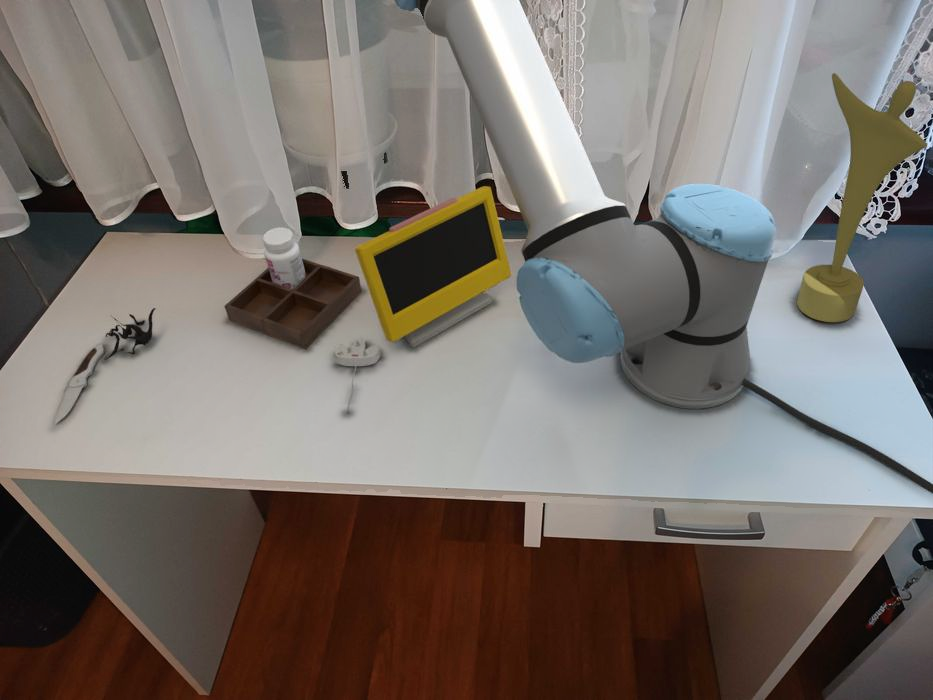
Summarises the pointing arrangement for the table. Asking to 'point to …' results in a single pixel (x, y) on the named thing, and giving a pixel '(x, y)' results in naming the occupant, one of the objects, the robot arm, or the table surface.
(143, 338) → the creature
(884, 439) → the table surface
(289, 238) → the pill bottle
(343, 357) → the game controller
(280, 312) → the grid
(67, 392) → the pocket knife
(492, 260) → the yellow framed monitor
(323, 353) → the table surface
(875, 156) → the sculpture
